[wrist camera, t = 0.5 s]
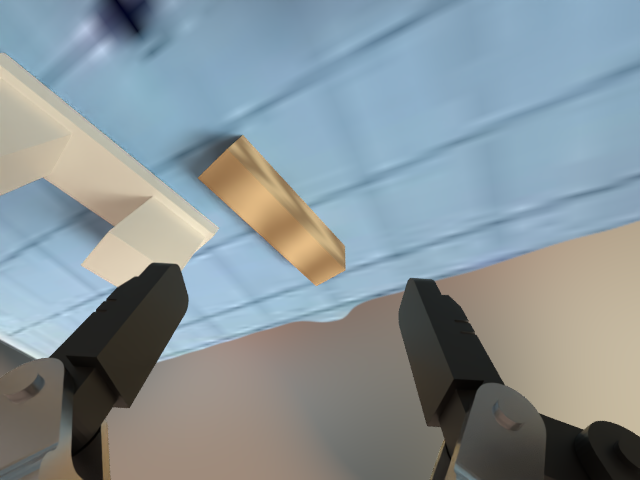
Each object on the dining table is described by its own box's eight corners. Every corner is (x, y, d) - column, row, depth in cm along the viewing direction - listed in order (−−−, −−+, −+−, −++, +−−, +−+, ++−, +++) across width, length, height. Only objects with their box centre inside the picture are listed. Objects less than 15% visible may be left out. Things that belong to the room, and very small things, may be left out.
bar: (217, 160, 27) (197, 177, 23) (243, 134, 25) (227, 149, 21) (318, 260, 33) (316, 286, 30) (344, 244, 32) (345, 270, 28)
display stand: (-18, 120, 25) (-174, 150, 18) (4, 52, 22) (-175, 55, 14) (181, 260, 34) (136, 322, 27) (219, 228, 31) (179, 287, 23)
